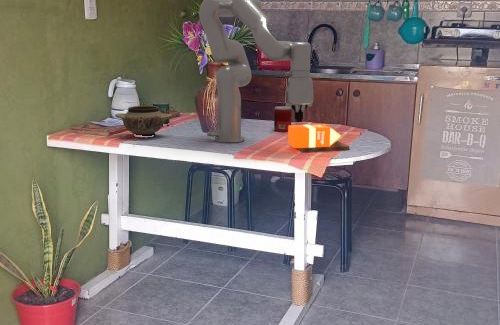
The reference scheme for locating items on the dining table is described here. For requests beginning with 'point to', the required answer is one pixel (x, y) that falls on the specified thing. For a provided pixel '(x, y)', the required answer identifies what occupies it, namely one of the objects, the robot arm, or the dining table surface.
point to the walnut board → (326, 148)
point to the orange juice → (311, 136)
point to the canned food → (282, 118)
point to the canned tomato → (163, 109)
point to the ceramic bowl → (143, 119)
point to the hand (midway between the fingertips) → (298, 121)
